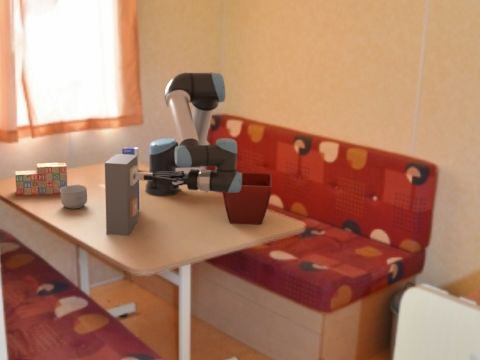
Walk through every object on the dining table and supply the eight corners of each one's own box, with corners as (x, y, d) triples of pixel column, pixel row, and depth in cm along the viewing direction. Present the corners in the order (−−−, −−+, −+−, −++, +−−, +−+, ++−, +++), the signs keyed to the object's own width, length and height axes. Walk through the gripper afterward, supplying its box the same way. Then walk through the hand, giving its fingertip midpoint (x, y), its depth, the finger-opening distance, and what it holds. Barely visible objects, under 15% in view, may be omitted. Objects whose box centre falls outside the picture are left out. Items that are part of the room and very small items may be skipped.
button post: (138, 222, 248) (137, 155, 241) (127, 235, 235) (126, 164, 227) (118, 221, 249) (116, 153, 242) (106, 233, 236) (104, 162, 228)
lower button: (138, 211, 243) (137, 196, 241) (133, 216, 237) (133, 201, 235) (117, 210, 244) (116, 195, 242) (112, 215, 238) (111, 199, 236)
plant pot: (223, 210, 266) (224, 171, 262) (269, 212, 266) (271, 173, 261) (220, 226, 248) (221, 184, 243) (269, 228, 248) (272, 186, 243)
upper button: (137, 181, 239) (137, 165, 238) (133, 185, 234) (133, 169, 232) (116, 179, 240) (116, 164, 239) (111, 184, 235) (111, 168, 233)
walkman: (122, 171, 317) (122, 148, 314) (122, 170, 320) (122, 147, 317) (138, 171, 319) (138, 148, 316) (138, 170, 322) (138, 146, 318)
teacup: (80, 212, 258) (79, 193, 256) (55, 209, 260) (54, 190, 258) (94, 201, 271) (94, 183, 269) (71, 199, 273) (70, 181, 271)
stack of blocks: (16, 195, 276) (14, 168, 272) (16, 191, 281) (14, 164, 278) (67, 192, 282) (66, 165, 279) (66, 188, 288) (65, 162, 285)
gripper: (195, 195, 228) (131, 190, 230) (202, 185, 240) (140, 180, 243) (196, 174, 226) (130, 170, 228) (202, 165, 238) (140, 161, 241)
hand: (136, 175), depth 236 cm, fingers closed
